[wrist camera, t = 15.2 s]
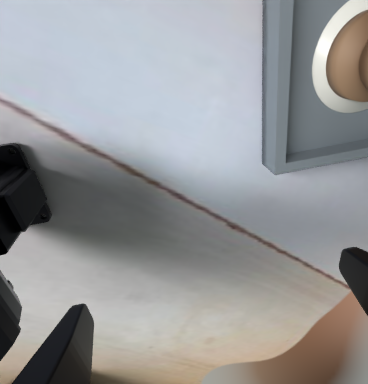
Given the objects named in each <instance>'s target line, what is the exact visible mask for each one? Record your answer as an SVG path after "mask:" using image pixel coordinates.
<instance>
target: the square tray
mask: <svg viewBox="0 0 368 384" xmlns="http://www.w3.org/2000/svg"><path fill="white" fill-rule="evenodd" d="M365 10H368V0H263V62H262V164H263V165H264V166H266V167H267V168H268V169H269V170H270V171H271V172H272V173H273V174H274V175H278V174H283V173H288V172H293V171H299V170H304V169H309V168H314V167H319V166H325V165H330V164H335V163H340V162H345V161H351V160H356V159H361V158H366V157H368V102H358V101H353V100H348V99H344V98H341V97H339V96H338V95H336V94H335V93H334V92H333V91H332V89H331V88H330V86H329V84H328V81H327V77H326V61H327V56H328V52H329V49H330V47H331V44H332V42H333V40H334V38H335V37H336V35H337V34H338V32H339V31H340V30H341V28H342V27H343V26H344V25H345V24H346V23H347V22H348V21H349V20H350V19H351V18H353V17H354V16H355V15H357V14H359V13H361V12H362V11H365Z"/></svg>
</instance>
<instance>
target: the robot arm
mask: <svg viewBox="0 0 368 384" xmlns="http://www.w3.org/2000/svg"><path fill="white" fill-rule="evenodd" d="M10 148H12V149H14V150H15V152H16V153H12V152H11V151H10ZM46 200H47V198H46V196H45V193H44V191H43V189H42V187H41V185H40V183H39V180H38V178H37V176H36V174H35V172H34V171H33V170H32V169H30V166H29V164H28V162H27V160H26V158H25V156H24V154H23V151H22V149H21V148H20V146H19V145H17V144H15V143H8V144H3V145H0V255H4V254H6V253H7V252H8V251H9V249H10V248H11V246H12V245H13V244H14V242H15V241H16V239H17V238H18V236H19V235H20V234H21V232H25V231H26V230H27V228H28V227H29V226H30V225H33V224H39V223H44V222H47V221H49V220H50V218H51V216H52V214H51V211H50V209H49V207H48V205H47V203H46ZM42 214H44V215H46V216H47V217H44V216H42ZM339 270H340V272H341V274H342V276H343V277H344V279H345V281H346V282H347V284H348V285H349V287H350V289H351V290H352V292H353V294H354V295H355V297H356V298H357V300H358V302H359V303H360V305H361V307H362V308H363V310H364V311H365V313H366V314H367V315H368V252H366V251H364V250H362V249H359V248H357V247H350V248H346V249H343V250H342V253H341V258H340V263H339ZM21 310H22V306H21V304H20V301H19V298H18V297H17V295H16V294H15V292H14V291H13V285H12V284H11V282H10V281H9V280H6V278H5V277H4V275H3V274H2V272H1V271H0V361H1V360H2V358H3V357H4V356H5V354H6V353H7V352H8V351H9V349H10V348H11V347H12V345H13V344H14V342H15V340H16V338H17V337H18V335H19V333H20V330H21V328H20V326H19V322H20V316H21ZM93 333H94V321H93V318H92V316H91V314H90V312H89V310H88V307H87V306H86V304H78V305H74V306H72V307H71V308H70V309H69V310H68V312H67V313H66V314H65V315H64V317H63V318H62V319H61V321H60V322H59V323H58V325H57V326H56V327H55V328H54V330H53V331H52V332H51V334H50V335H49V336H48V337H47V339H46V340H45V341H44V343H43V344H42V345H41V347H40V348H39V349H38V350H37V352H36V353H35V354H34V356H33V357H32V358H31V359H30V361H29V362H28V363H27V365H26V366H25V367H24V369H23V370H22V371H21V372H20V374H19V375H18V376H17V378H16V379H15V380H14V381H13V383H12V384H90V379H91V369H92V351H93Z"/></svg>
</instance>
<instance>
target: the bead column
mask: <svg viewBox="0 0 368 384" xmlns="http://www.w3.org/2000/svg"><path fill="white" fill-rule="evenodd" d="M326 77H327V81H328V84H329V86H330V88H331V89H332V91H333V92H334V93H335V94H336V95H338V96H339V97H341V98H344V99H348V100H353V101H358V102H368V10H365V11H362V12H361V13H359V14H357V15H355V16H354V17H353V18H351V19H350V20H349V21H348V22H347V23H346V24H345V25H344V26H343V27H342V28H341V30H340V31H339V32H338V34H337V35H336V37H335V38H334V40H333V42H332V44H331V47H330V49H329V52H328V56H327V61H326Z"/></svg>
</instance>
